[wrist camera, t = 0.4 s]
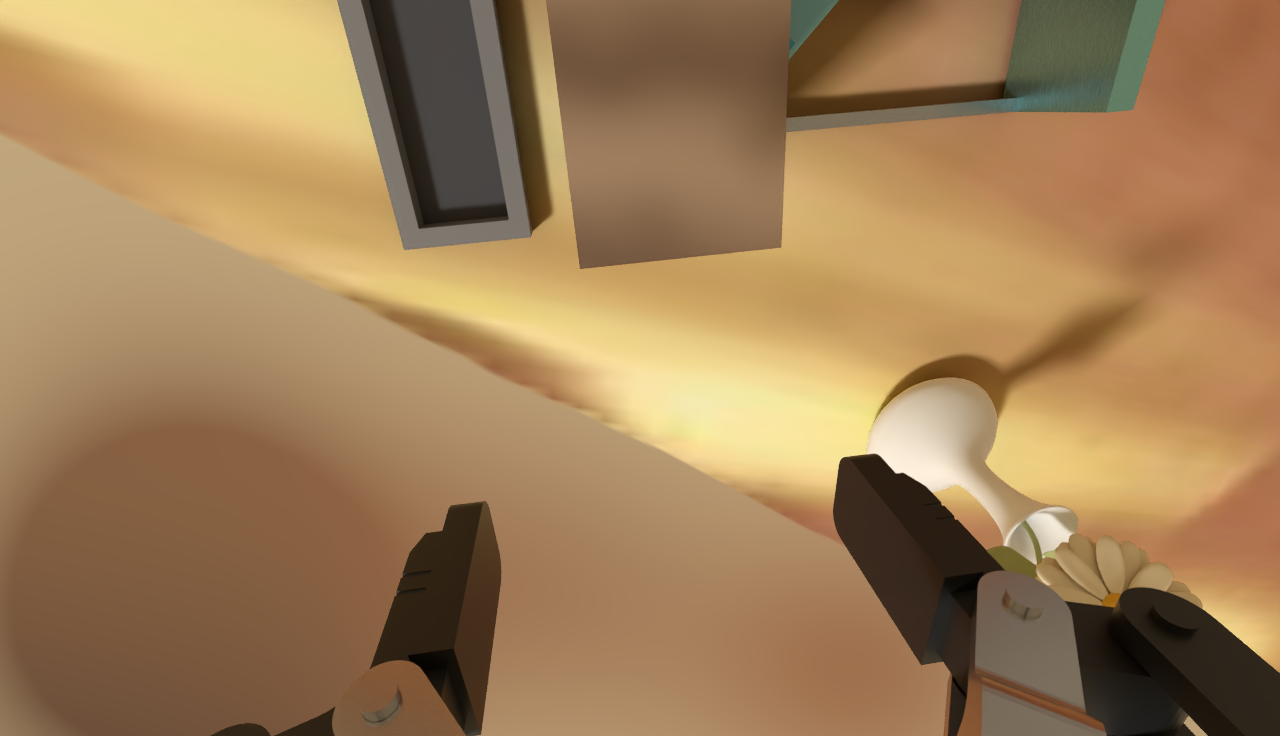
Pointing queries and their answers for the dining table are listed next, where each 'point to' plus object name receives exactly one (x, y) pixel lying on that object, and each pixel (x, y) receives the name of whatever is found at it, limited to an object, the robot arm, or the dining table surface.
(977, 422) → the flower in vase
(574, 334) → the dining table surface
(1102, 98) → the frame
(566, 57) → the wooden arch
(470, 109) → the tray
